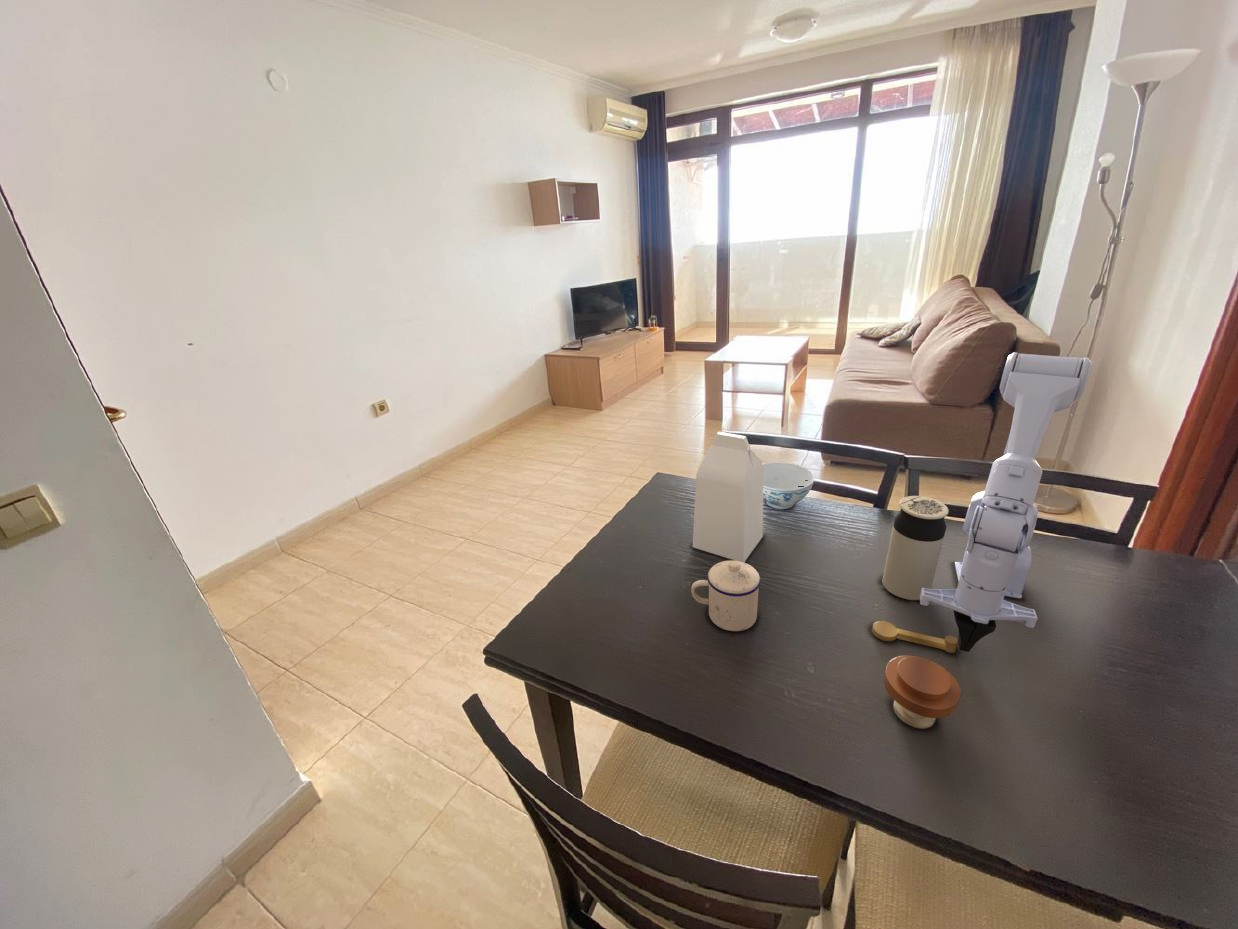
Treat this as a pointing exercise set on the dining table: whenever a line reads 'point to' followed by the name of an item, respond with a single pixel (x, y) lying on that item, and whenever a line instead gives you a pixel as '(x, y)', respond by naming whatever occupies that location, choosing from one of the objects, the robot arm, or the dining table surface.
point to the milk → (729, 499)
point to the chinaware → (785, 484)
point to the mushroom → (921, 690)
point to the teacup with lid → (731, 595)
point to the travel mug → (914, 546)
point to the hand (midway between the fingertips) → (963, 646)
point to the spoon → (913, 636)
